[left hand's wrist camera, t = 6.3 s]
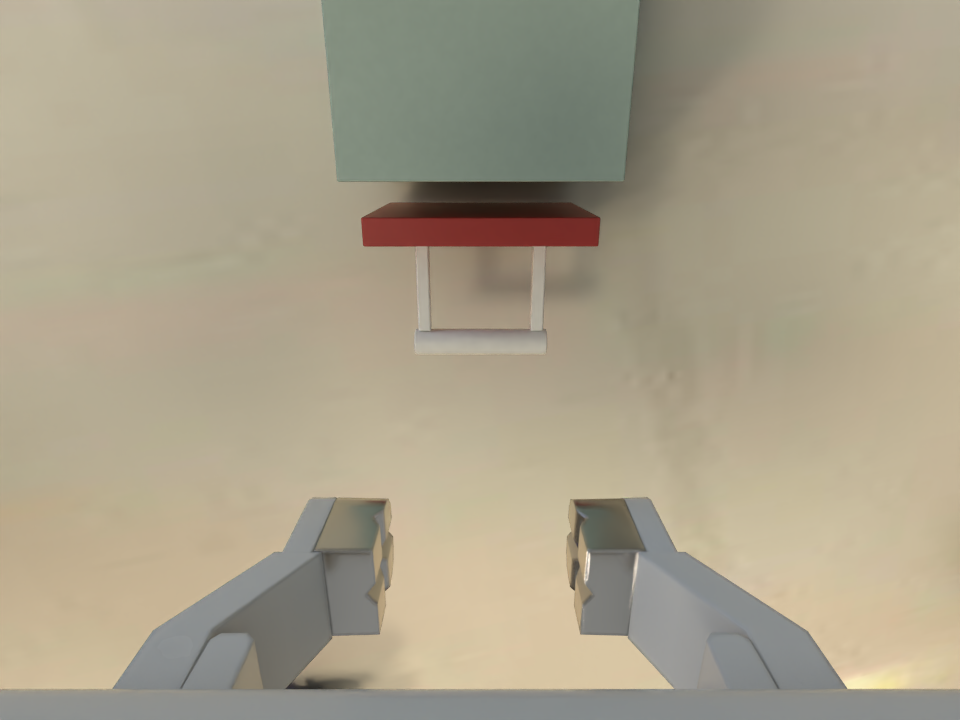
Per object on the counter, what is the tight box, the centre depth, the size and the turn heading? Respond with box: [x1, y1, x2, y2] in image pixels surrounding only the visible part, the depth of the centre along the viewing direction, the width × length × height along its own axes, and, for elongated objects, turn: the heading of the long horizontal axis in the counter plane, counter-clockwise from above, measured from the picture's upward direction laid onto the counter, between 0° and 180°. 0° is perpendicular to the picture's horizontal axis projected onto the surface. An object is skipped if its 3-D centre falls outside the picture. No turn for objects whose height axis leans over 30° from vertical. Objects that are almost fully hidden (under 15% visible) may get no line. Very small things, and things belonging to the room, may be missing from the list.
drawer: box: [361, 203, 600, 355], centre depth 25 cm, size 22×10×8 cm, turn 0°
